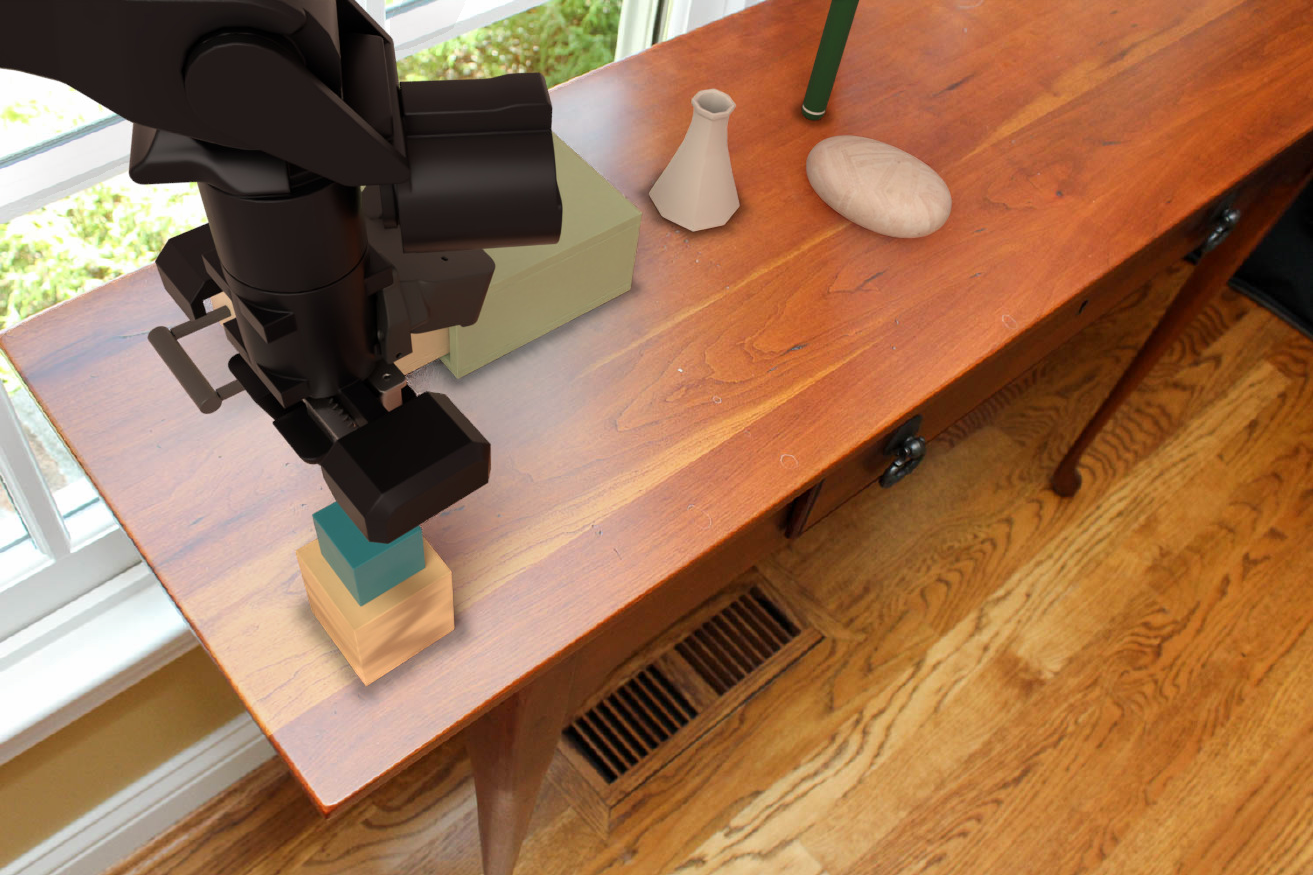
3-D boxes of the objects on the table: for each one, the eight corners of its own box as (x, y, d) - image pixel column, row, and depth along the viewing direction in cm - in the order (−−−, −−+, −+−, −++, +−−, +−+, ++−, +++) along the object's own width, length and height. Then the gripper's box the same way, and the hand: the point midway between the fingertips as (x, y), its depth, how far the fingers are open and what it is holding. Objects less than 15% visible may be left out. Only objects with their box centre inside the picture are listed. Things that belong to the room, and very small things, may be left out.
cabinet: (457, 379, 75) (455, 302, 69) (352, 262, 80) (341, 180, 74) (630, 289, 82) (642, 212, 76) (523, 187, 87) (526, 107, 81)
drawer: (234, 476, 67) (215, 419, 62) (142, 350, 72) (118, 287, 67) (496, 343, 76) (497, 284, 71) (398, 238, 81) (393, 177, 76)
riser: (365, 687, 61) (353, 631, 55) (311, 610, 63) (294, 550, 58) (454, 629, 64) (452, 571, 58) (399, 558, 66) (391, 496, 60)
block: (360, 607, 56) (353, 569, 53) (320, 553, 58) (311, 514, 54) (425, 567, 58) (422, 529, 55) (385, 516, 59) (380, 476, 56)
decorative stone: (777, 198, 91) (791, 150, 87) (832, 150, 96) (847, 104, 92) (906, 274, 87) (926, 228, 83) (956, 221, 92) (978, 176, 88)
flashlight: (779, 97, 99) (835, -120, 83) (830, 97, 100) (896, -117, 84) (792, 132, 96) (853, -86, 81) (845, 132, 97) (916, -83, 82)
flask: (632, 194, 89) (647, 92, 81) (695, 163, 92) (714, 62, 84) (691, 245, 86) (713, 144, 78) (754, 210, 89) (780, 110, 81)
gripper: (600, 297, 43) (577, 508, 55) (344, 57, 50) (375, 292, 62) (354, 431, 37) (391, 631, 50) (108, 141, 45) (194, 379, 57)
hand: (340, 466), depth 55 cm, fingers closed
